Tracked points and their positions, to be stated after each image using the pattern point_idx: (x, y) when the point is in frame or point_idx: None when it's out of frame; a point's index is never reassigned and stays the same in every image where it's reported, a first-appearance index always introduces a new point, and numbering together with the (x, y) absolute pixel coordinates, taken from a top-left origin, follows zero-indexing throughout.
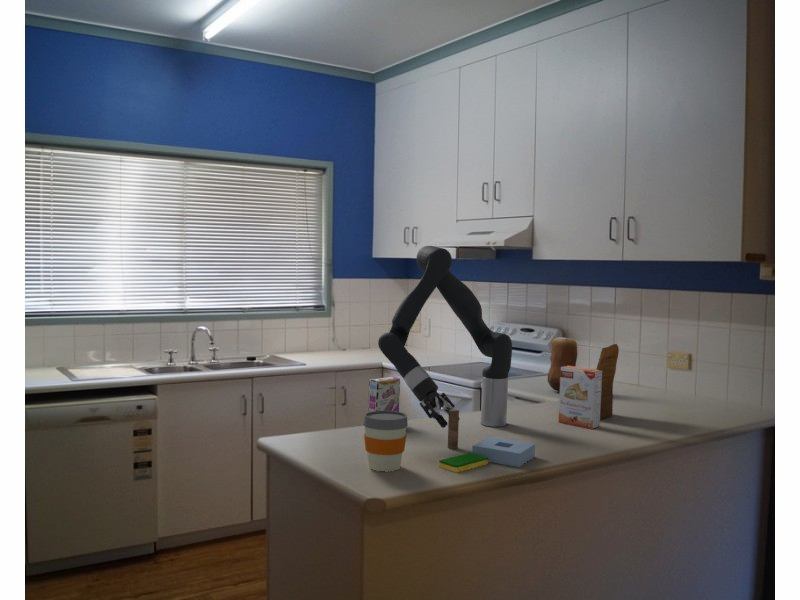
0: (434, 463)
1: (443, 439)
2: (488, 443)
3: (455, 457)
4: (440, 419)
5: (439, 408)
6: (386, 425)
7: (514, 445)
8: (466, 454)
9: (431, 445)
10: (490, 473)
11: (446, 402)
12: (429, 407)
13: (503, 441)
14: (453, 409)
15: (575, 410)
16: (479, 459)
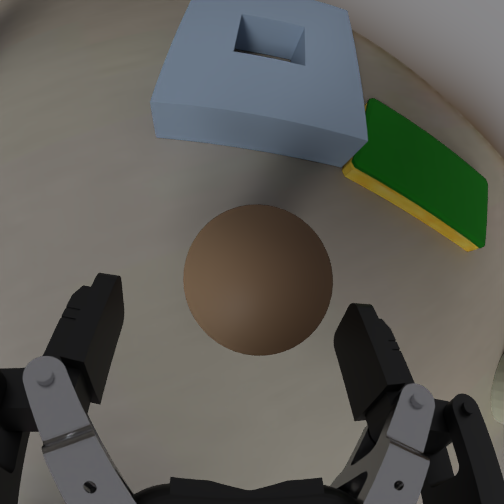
0: (453, 278)
1: None
2: (290, 83)
3: (442, 202)
4: (402, 358)
5: (390, 439)
6: None
7: (260, 13)
8: (394, 170)
9: (227, 415)
10: (427, 103)
11: (91, 477)
12: (493, 464)
13: (219, 41)
14: (202, 306)
15: None
16: (410, 122)
